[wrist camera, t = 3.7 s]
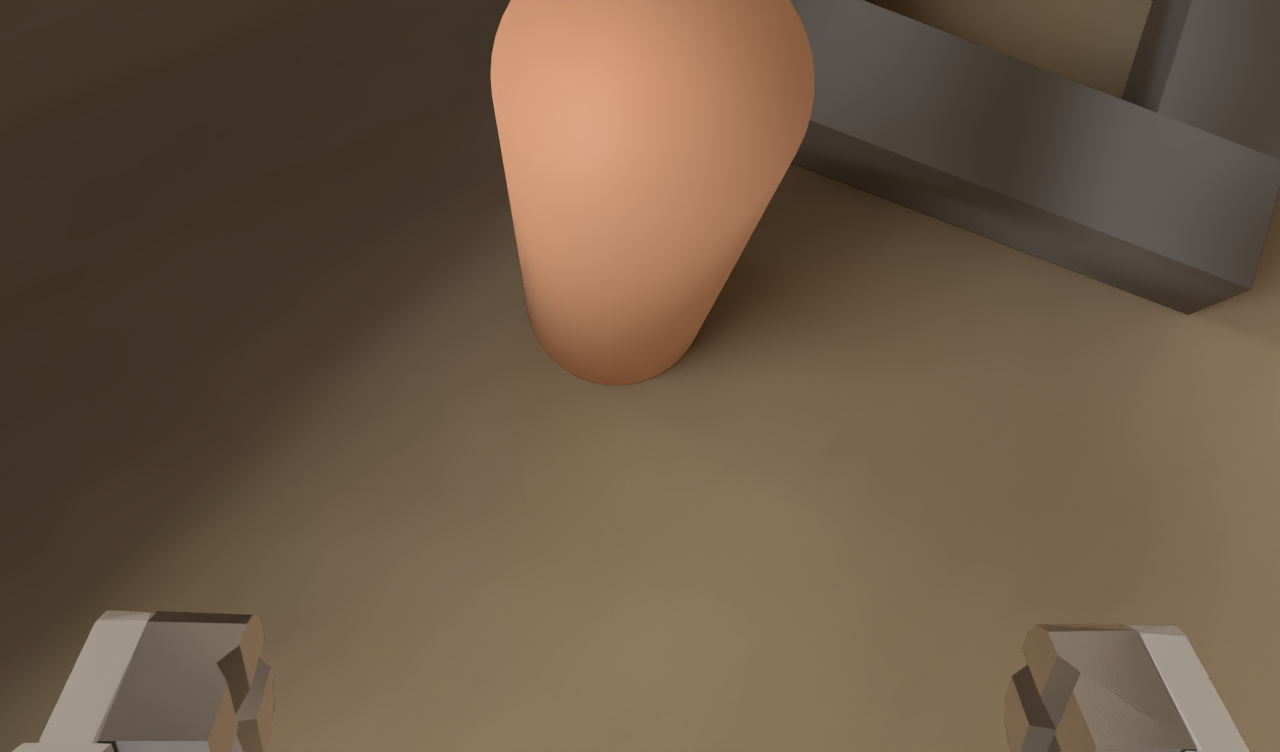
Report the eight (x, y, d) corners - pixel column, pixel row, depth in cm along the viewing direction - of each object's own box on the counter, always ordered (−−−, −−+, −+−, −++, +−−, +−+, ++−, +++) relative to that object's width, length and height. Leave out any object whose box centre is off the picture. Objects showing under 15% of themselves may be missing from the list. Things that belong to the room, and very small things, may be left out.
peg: (499, 347, 26) (440, 160, 14) (565, 187, 26) (561, -121, 15) (667, 411, 26) (750, 279, 14) (728, 250, 26) (858, -8, 15)
